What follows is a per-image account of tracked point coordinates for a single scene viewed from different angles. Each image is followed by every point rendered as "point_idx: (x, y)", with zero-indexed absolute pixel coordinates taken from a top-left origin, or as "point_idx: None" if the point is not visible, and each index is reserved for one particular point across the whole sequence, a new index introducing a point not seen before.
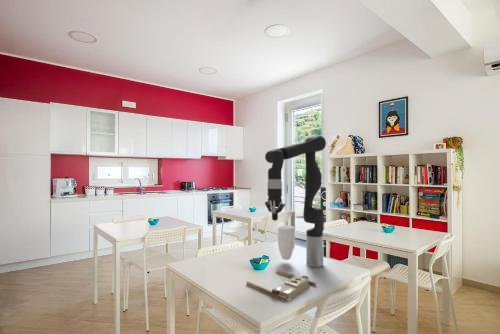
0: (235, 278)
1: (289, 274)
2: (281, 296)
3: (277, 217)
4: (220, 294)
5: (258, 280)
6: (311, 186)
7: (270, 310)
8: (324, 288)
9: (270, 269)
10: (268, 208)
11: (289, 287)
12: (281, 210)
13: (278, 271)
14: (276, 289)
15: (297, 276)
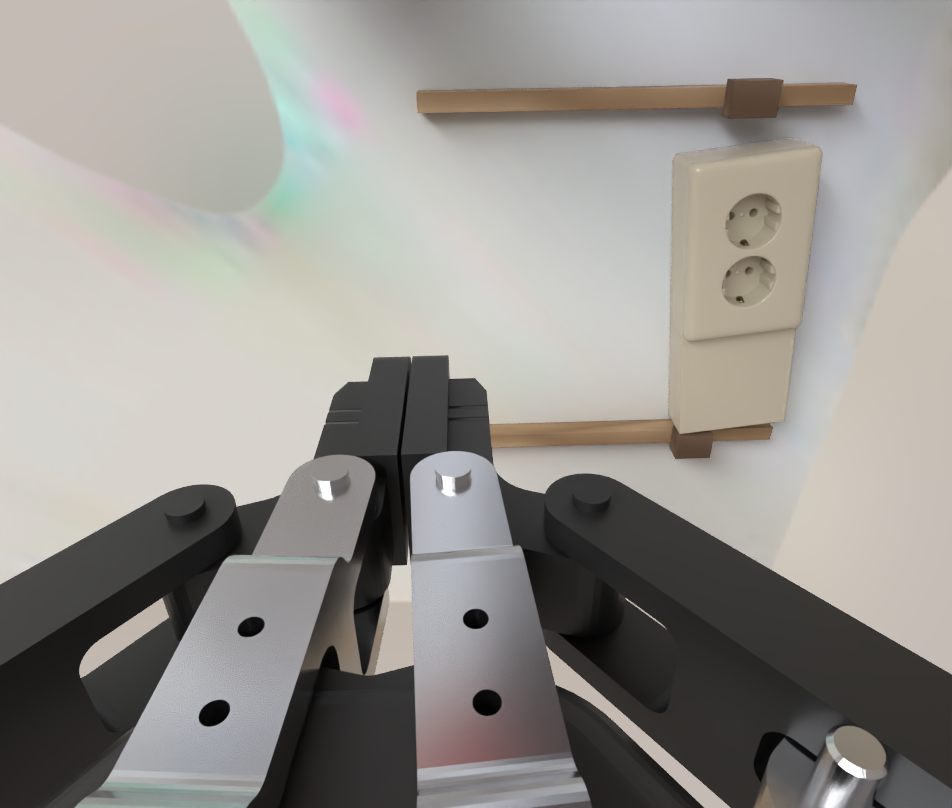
0: (300, 426)
1: (574, 105)
2: (739, 438)
3: (488, 415)
4: None
5: (434, 338)
6: None
7: (741, 529)
8: (920, 68)
9: (311, 80)
10: (139, 701)
11: (744, 353)
12: (684, 532)
13: (442, 111)
14: (696, 438)
15: (720, 181)
